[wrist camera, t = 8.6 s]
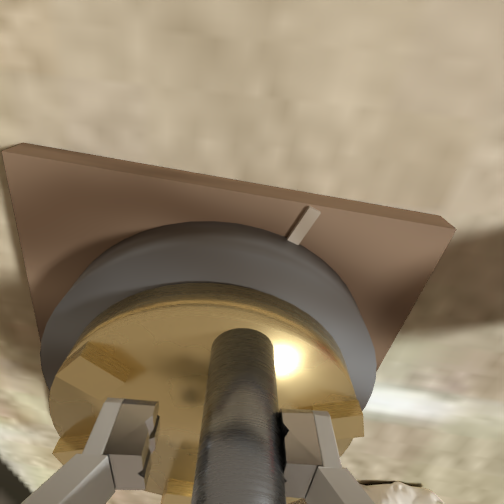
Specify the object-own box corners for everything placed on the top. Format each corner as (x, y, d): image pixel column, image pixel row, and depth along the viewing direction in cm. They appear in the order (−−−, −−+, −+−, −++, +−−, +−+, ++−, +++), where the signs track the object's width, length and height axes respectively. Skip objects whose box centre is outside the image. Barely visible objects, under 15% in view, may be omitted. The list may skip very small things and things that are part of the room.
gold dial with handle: (401, 328, 15) (568, 627, 7) (287, 477, 22) (307, 713, 14) (79, 243, 12) (-202, 552, 5) (64, 441, 19) (-60, 699, 11)
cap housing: (324, 437, 27) (335, 494, 23) (68, 411, 25) (39, 469, 21) (440, 215, 17) (490, 258, 13) (23, 142, 15) (-47, 169, 11)
